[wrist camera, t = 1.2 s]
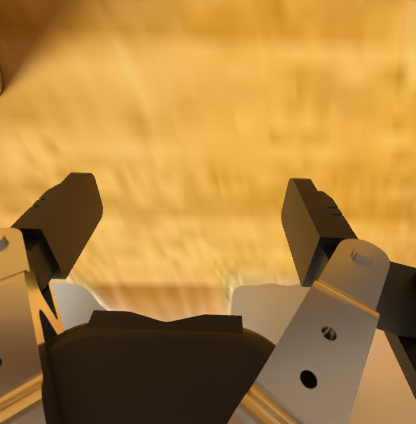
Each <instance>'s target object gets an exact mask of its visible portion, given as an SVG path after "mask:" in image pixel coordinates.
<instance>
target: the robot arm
mask: <svg viewBox="0 0 416 424" xmlns="http://www.w3.org/2000/svg"><path fill="white" fill-rule="evenodd" d="M1 90H2V75H1V72H0V93H1ZM102 214H103V206H102V202H101V198H100V194H99V191H98V187H97V184H96V180H95V177H94V175H93V174H92V173H70V174H69V175H68V176H67V177H66V178H65V179H64V180H63V181H62V182H61V183H60V184H58V185H56V186H54V187H53V188H51V189H49V190H47V191H46V192H45V193H44V194H43V195H42V196H41V197H40V198H39V200H37V201H36V202H35V203H34V204H33V205H32V207H30V208H29V209H28V210H27V211H26V212H25V213H24V214H23V215H22V216H21V217H20V218H19V219H18V220H17V221H16V222H15V223H14V224H13V225H12V226H11V227H10V228H1V229H0V424H347V423H348V420H349V417H350V413H351V410H352V407H353V403H354V400H355V397H356V394H357V390H358V387H359V384H360V380H361V377H362V374H363V370H364V367H365V364H366V360H367V357H368V354H369V350H370V347H371V344H372V340H373V337H374V333H375V330H376V328H377V329H380V330H383V331H384V332H385V335H386V337H387V339H388V341H389V343H390V346H391V348H392V350H393V352H394V354H395V356H396V358H397V361H398V363H399V365H400V367H401V369H402V371H403V373H404V375H405V378H406V380H407V382H408V384H409V386H410V388H411V390H412V393H413V395H414V397H415V399H416V268H414V267H410V266H406V265H402V264H398V263H394V262H390V261H389V258H388V256H387V255H386V254H385V253H384V252H383V251H382V250H381V249H380V248H378V247H377V246H375V245H374V244H371V243H369V242H367V241H364V240H360V239H358V238H357V236H356V235H355V233H354V232H353V230H352V229H351V227H350V225H349V224H348V222H347V221H346V219H345V218H344V216H342V213H341V211H340V210H339V209H338V207H337V205H336V203H335V202H334V200H333V199H332V198H331V197H330V196H328V195H327V194H326V193H324V192H323V191H317V189H316V188H315V186H314V184H313V182H312V181H311V179H300V178H291V179H290V180H289V182H288V186H287V190H286V195H285V199H284V203H283V208H282V215H281V218H282V225H283V228H284V231H285V235H286V238H287V241H288V244H289V247H290V251H291V254H292V257H293V260H294V263H295V267H296V270H297V273H298V276H299V279H300V283H301V286H303V287H311V288H310V290H309V291H308V293H307V295H306V296H305V298H304V300H303V301H302V303H301V305H300V307H299V308H298V310H297V311H296V313H295V315H294V317H293V318H292V320H291V322H290V323H289V325H288V327H287V328H286V330H285V332H284V333H283V335H282V337H281V338H280V340H279V342H278V343H277V345H275V344H273V343H272V342H271V341H269V340H268V339H267V338H265V337H263V336H262V335H260V334H258V333H256V332H254V331H251V330H249V329H246V328H243V326H242V316H234V315H207V314H205V315H200V316H195V317H190V318H185V319H181V320H176V321H171V322H163V321H159V320H156V319H152V318H149V317H146V316H143V315H139V314H136V313H133V312H126V311H99V310H94V311H93V313H92V316H91V318H90V320H89V323H84V324H81V325H78V326H75V327H73V328H70V329H68V330H66V331H64V328H63V325H62V321H61V318H60V314H59V311H58V307H57V303H56V300H55V296H54V292H53V289H52V287H51V285H50V283H49V282H50V280H51V279H66V278H67V276H68V274H69V273H70V271H71V269H72V268H73V266H74V264H75V262H76V261H77V259H78V257H79V256H80V254H81V252H82V250H83V249H84V247H85V245H86V244H87V242H88V240H89V239H90V237H91V235H92V233H93V232H94V230H95V228H96V227H97V225H98V223H99V221H100V220H101V218H102Z"/></svg>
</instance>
